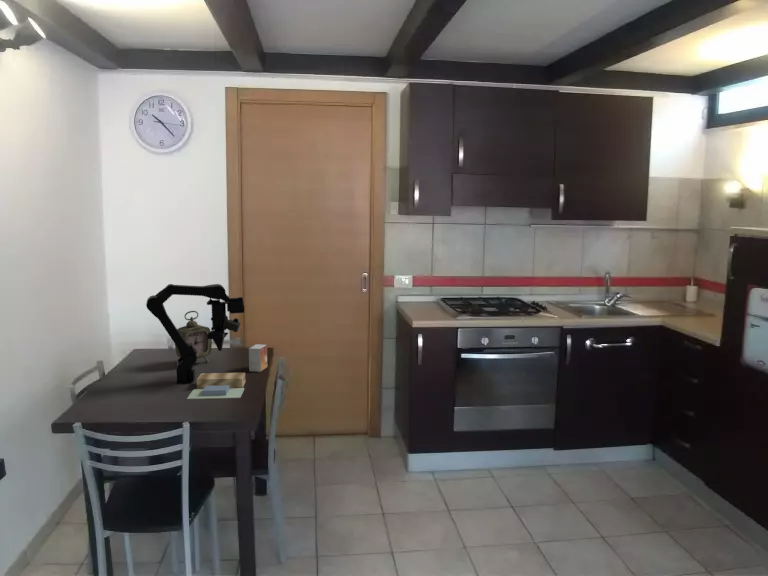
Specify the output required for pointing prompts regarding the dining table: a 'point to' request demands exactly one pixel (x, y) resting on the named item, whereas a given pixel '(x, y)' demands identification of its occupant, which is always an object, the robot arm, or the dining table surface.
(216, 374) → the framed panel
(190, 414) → the dining table surface
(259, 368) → the small box
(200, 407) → the dining table surface
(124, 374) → the dining table surface
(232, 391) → the mat
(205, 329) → the tabletop clock
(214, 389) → the slate blue board
